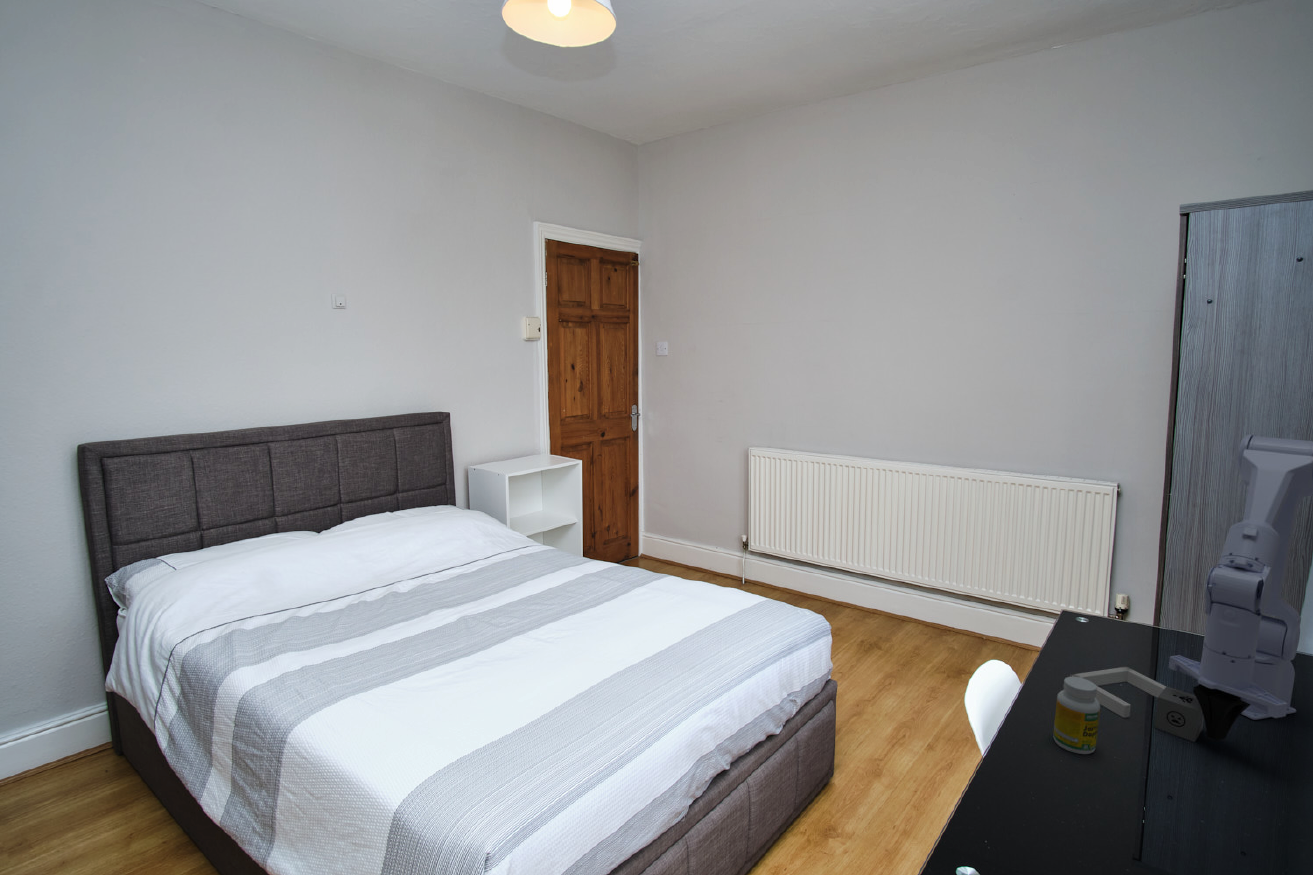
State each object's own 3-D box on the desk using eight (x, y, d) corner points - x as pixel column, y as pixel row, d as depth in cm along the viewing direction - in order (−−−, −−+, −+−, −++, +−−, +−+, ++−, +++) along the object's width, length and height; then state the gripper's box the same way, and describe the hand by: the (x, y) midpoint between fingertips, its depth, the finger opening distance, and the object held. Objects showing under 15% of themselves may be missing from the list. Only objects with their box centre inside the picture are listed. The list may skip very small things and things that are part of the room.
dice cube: (1194, 742, 100) (1199, 710, 99) (1153, 727, 104) (1157, 696, 103) (1202, 729, 103) (1206, 699, 103) (1162, 715, 107) (1166, 686, 106)
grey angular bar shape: (1125, 677, 119) (1126, 666, 119) (1183, 707, 110) (1185, 695, 109) (1068, 685, 116) (1069, 674, 116) (1123, 717, 106) (1125, 705, 106)
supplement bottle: (1063, 729, 103) (1070, 670, 101) (1102, 747, 98) (1109, 685, 97) (1045, 741, 100) (1051, 679, 98) (1084, 760, 95) (1091, 696, 94)
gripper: (1158, 631, 103) (1147, 714, 105) (1265, 676, 89) (1251, 771, 91) (1193, 626, 105) (1181, 708, 107) (1303, 670, 91) (1288, 763, 93)
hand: (1216, 737), depth 99 cm, fingers closed
